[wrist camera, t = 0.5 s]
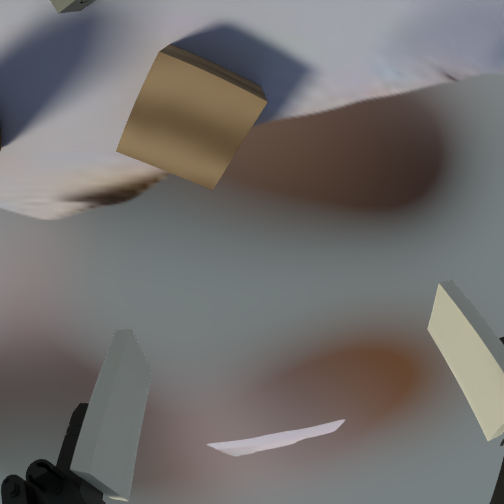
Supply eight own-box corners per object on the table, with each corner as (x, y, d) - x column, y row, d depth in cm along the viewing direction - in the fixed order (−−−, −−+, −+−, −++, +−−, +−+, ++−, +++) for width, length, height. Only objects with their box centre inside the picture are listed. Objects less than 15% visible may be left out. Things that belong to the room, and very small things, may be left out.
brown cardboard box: (170, 43, 25) (159, 51, 21) (260, 85, 29) (268, 102, 25) (131, 127, 31) (115, 151, 26) (213, 161, 35) (212, 190, 30)
